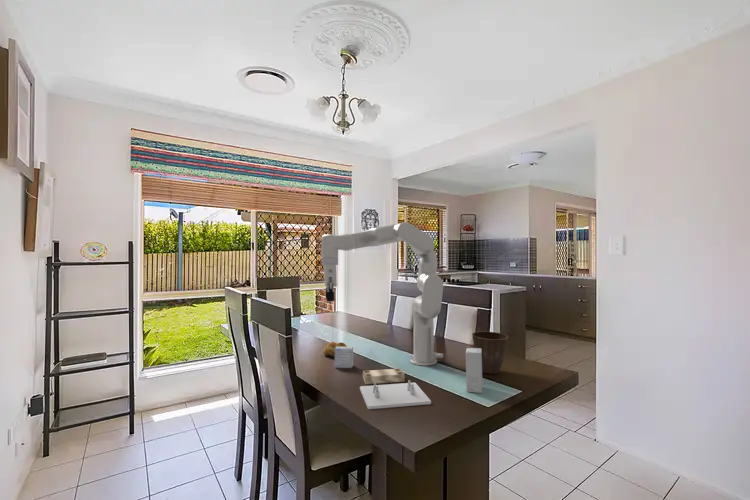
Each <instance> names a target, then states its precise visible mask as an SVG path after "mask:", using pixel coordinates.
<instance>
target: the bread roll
mask: <svg viewBox="0 0 750 500" xmlns="http://www.w3.org/2000/svg"><path fill="white" fill-rule="evenodd" d="M336 347H348V346H347V344H345V343H344V342H335V341H334V342H333V341H331V342H329V343H328V344H327V345H326V347H325V348H324V349H323V354H324V356H326V357H332V358H334V359H335V348H336Z"/></svg>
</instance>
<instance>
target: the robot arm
mask: <svg viewBox="0 0 750 500" xmlns="http://www.w3.org/2000/svg"><path fill="white" fill-rule="evenodd" d="M399 242H405V243H406V244H407V245H408V246H410V247H409V248H410V249H411V251H412V252H413V253H415V255H416V256H417V258H418V273H417V278H416V279H417V281H416V286H417V287H416V288H418V290H419V291H420V292H422V294H421V295H418V296H417V297H415V298H414V299H413V301H412V304H411V308H412V309H411V311H412V317H413V318H412V319H413V320H412V321H413V356H412V357H410V363H411V364H413V365H416V366H422V367H423V366H425V367H427V366H428V367H429V366H434V365H436V364H437V362H438V360H437V359H439V358H440V359H441V358H444V353H439V352H435V351H434V341H435V339H434V328H435V327H434V319H435V318H437V316H439V314H440V312H441V308H442V302H443V295H444V294H443V293H444V283H443V279H441V277H440V276H439V275H438V274H437V268H438V259H437V255H436V252H435V250H434V249H435V241H434V239H433V238H432V237H431V235H429V234H427V233H426V232H424V231H422V229H420V228H419V227H417V226H414V225H413V224H411V223H410V222H406V221H403V222H400V223H393V224H390V225H384V226H379V227H377V226H376V227H373V228H370V229H367V230H364V231H359V232H354V233H345V234H323V235H322V236H321V266H323V272H324V273H323V276H324V278H323V279H324V286H325V298H326V301H327V302H334V301H335V291H334V290H335V289H334V288H337V266H339V250H340V251H344V252H349V251H352V250H356V249H361V248H367V247H369V248H370V247H379V246H384V245H389V244H394V243H399Z"/></svg>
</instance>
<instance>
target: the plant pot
mask: <svg viewBox="0 0 750 500" xmlns="http://www.w3.org/2000/svg"><path fill="white" fill-rule="evenodd" d="M471 336H472V341H473V342H472V343H473V348H481V349H482V373H483V372H485V373H484V374H486V373H498V372H500V370H501V367H502V364H503V361H504V359H505V355H506V352H507V346H508V341H509V340H508V339H509V336H508V335H507V334H504V333H502V332H495V331H475V332H472V335H471ZM498 374H499V373H498Z"/></svg>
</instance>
